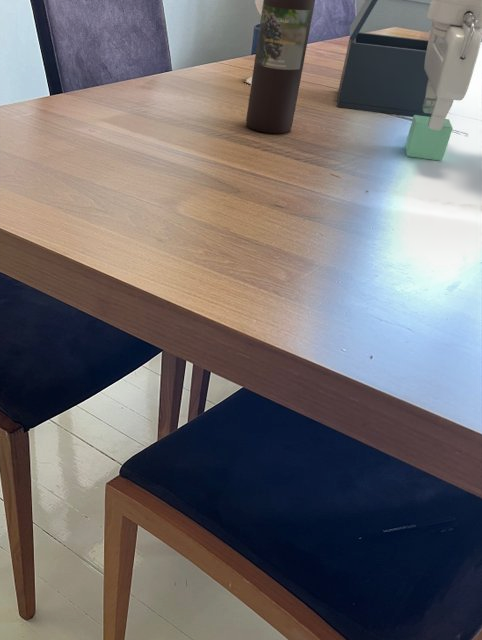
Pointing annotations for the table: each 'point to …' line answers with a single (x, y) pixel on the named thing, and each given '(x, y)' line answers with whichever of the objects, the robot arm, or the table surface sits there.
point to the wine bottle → (278, 64)
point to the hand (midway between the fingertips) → (430, 120)
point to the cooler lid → (361, 18)
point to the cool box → (384, 75)
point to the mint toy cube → (427, 139)
